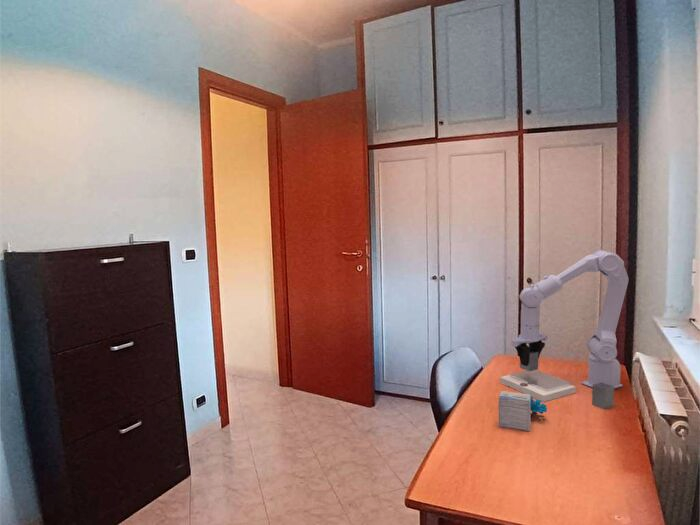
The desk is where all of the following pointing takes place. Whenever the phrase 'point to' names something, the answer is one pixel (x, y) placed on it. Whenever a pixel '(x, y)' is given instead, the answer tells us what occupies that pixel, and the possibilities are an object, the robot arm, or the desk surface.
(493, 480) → the desk surface
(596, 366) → the robot arm
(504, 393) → the medicine box
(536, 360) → the block
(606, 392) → the block
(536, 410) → the gear
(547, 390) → the kitchen scale
